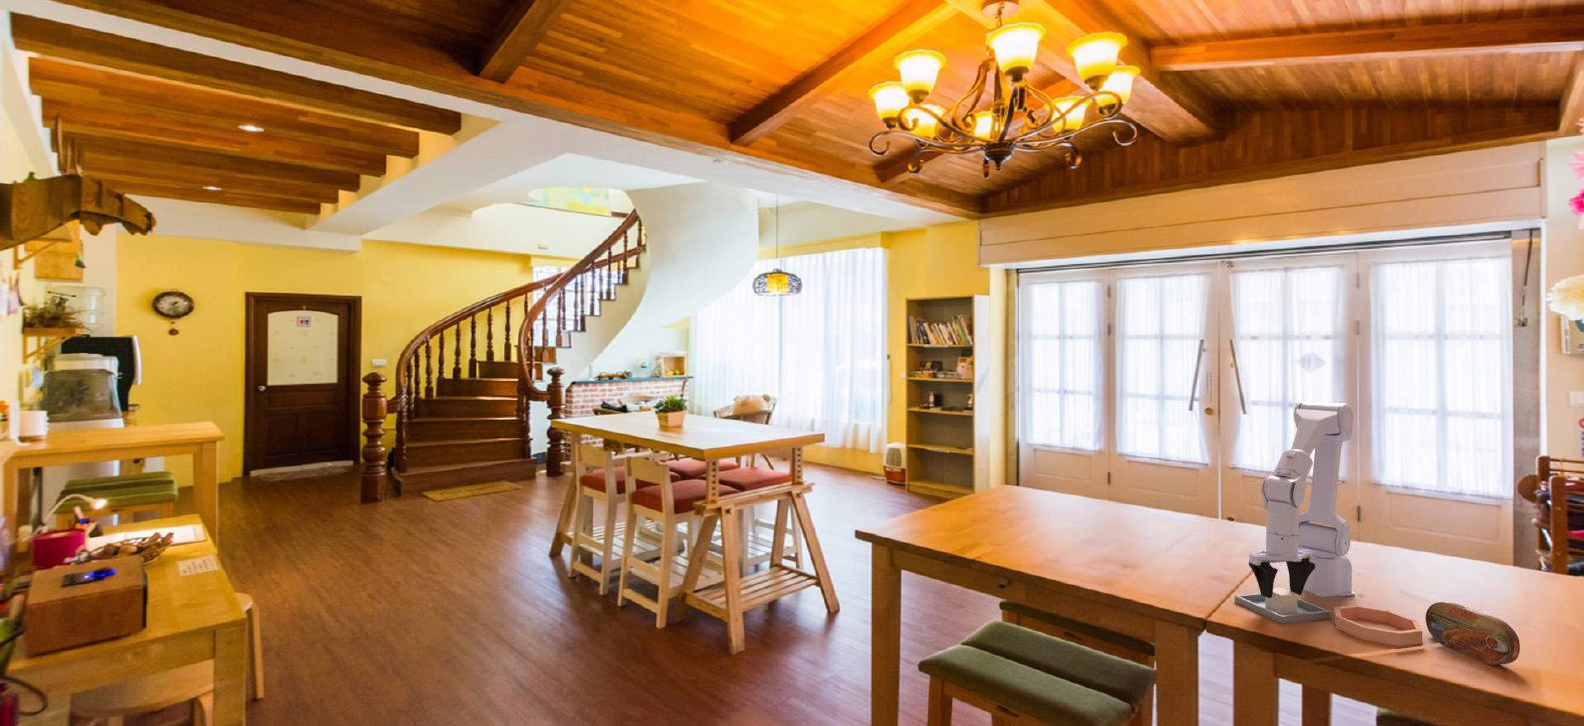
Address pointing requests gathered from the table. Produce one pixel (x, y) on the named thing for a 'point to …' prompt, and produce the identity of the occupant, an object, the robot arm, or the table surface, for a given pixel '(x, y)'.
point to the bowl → (1378, 625)
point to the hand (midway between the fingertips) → (1281, 594)
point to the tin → (1473, 633)
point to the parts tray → (1303, 613)
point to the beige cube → (1282, 601)
